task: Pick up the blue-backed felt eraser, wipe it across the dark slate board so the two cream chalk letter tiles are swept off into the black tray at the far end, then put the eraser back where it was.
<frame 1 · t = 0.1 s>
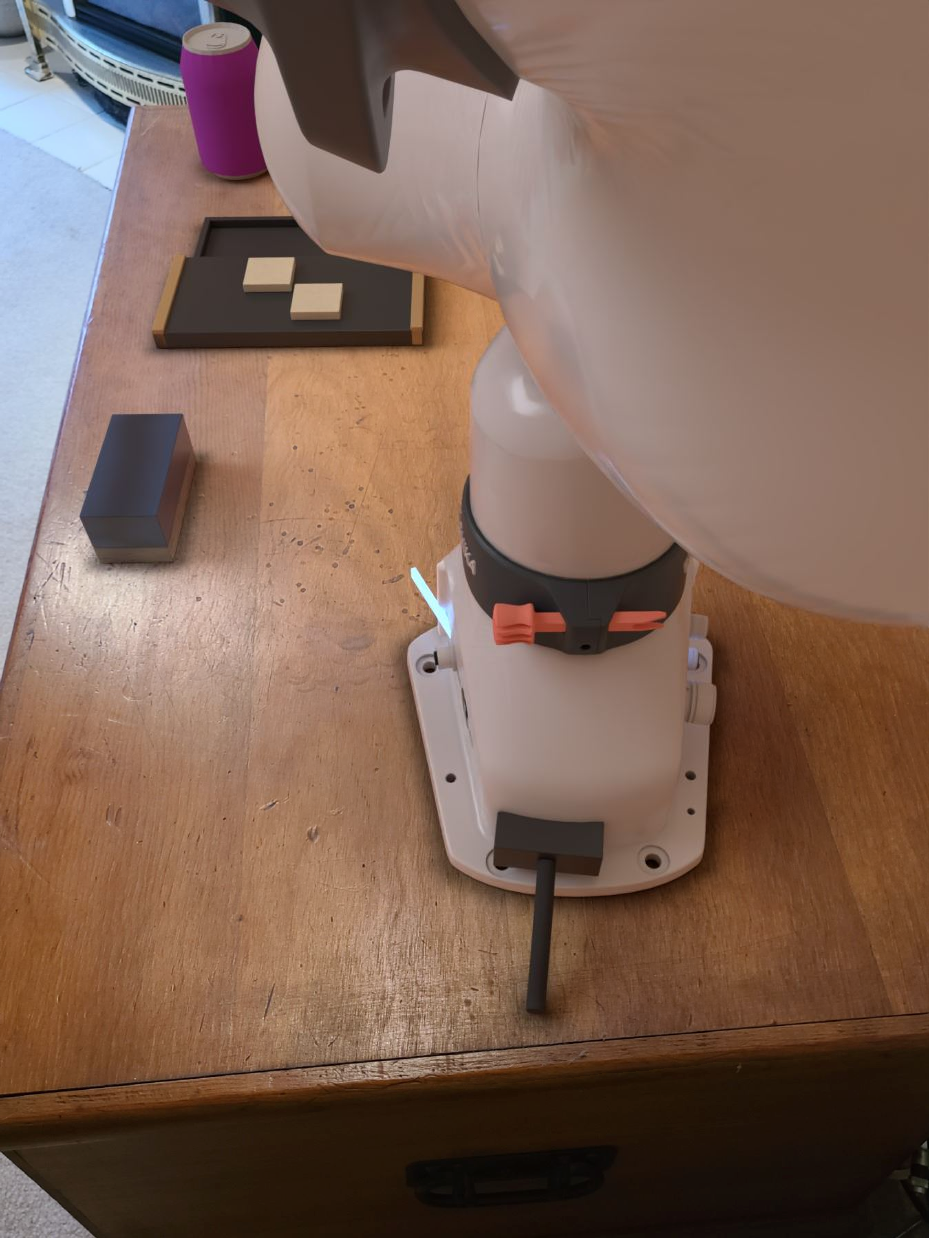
chalk tile a: (317, 305, 82), point 1 cm above the dresser, touching slate board
chalk tile b: (270, 278, 85), point 1 cm above the dresser, touching slate board
eraser: (150, 509, 70), on the dresser
slate board: (296, 307, 85), on the dresser
tray: (306, 247, 90), on the dresser
camera lens: (480, 228, 92), on the dresser
beverage can: (241, 166, 100), on the dresser
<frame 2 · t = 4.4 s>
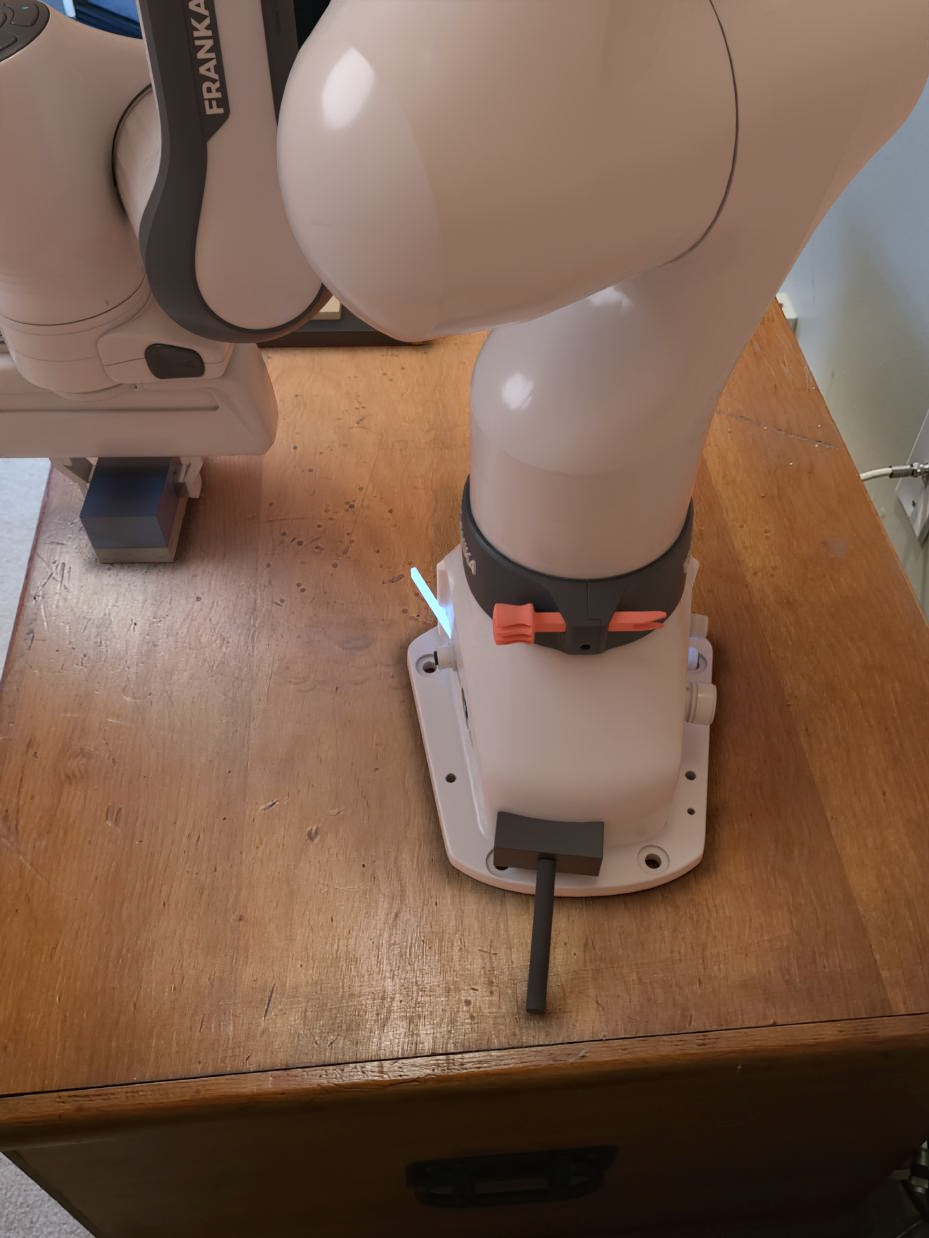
hand: (145, 492, 68), 2 cm above the dresser, tool pointing down, fingers closed on eraser, 5 cm apart
eraser: (150, 509, 70), on the dresser, touching gripper
everything else where it was.
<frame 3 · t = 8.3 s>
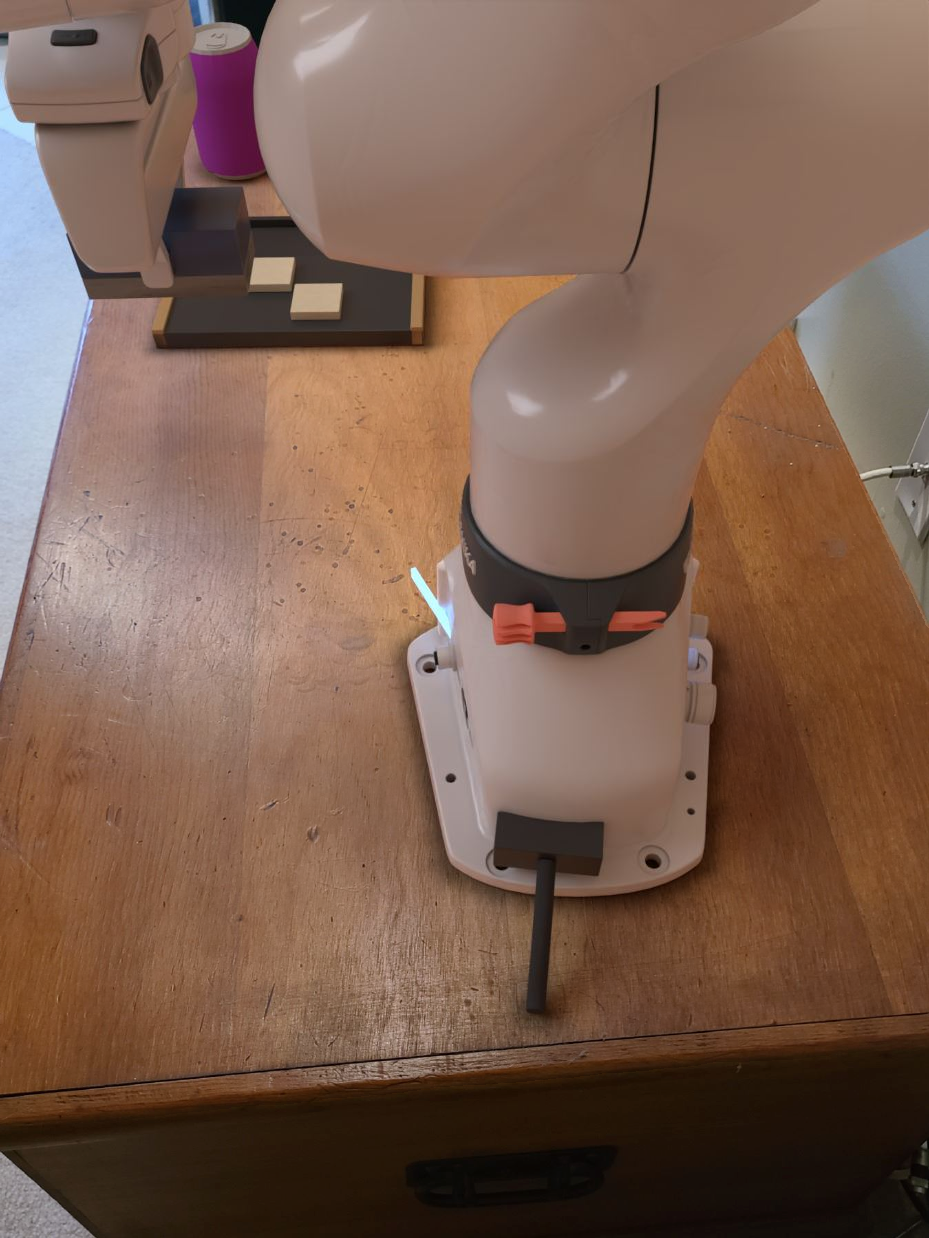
hand: (169, 252, 62), 15 cm above the dresser, tool pointing down, fingers closed on eraser, 5 cm apart
eraser: (174, 275, 64), point 14 cm above the dresser, touching gripper
everything else where it was.
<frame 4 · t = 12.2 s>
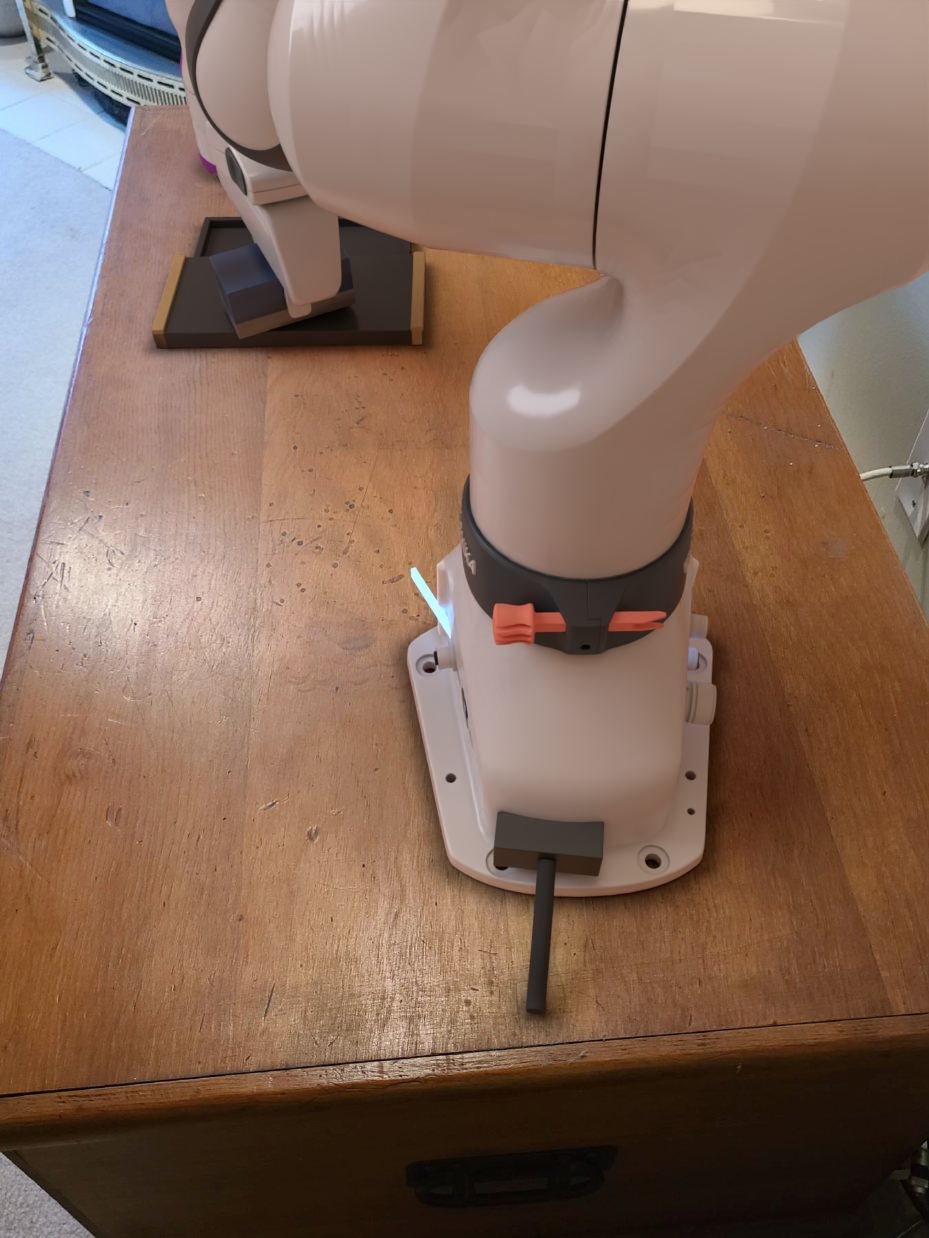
hand: (285, 290, 80), 3 cm above the dresser, tool pointing down, fingers closed on eraser, 5 cm apart
chalk tile a: (322, 280, 84), point 1 cm above the dresser, touching eraser, slate board
eraser: (288, 303, 81), point 2 cm above the dresser, tilted 5°, touching chalk tile a, gripper
everything else where it was.
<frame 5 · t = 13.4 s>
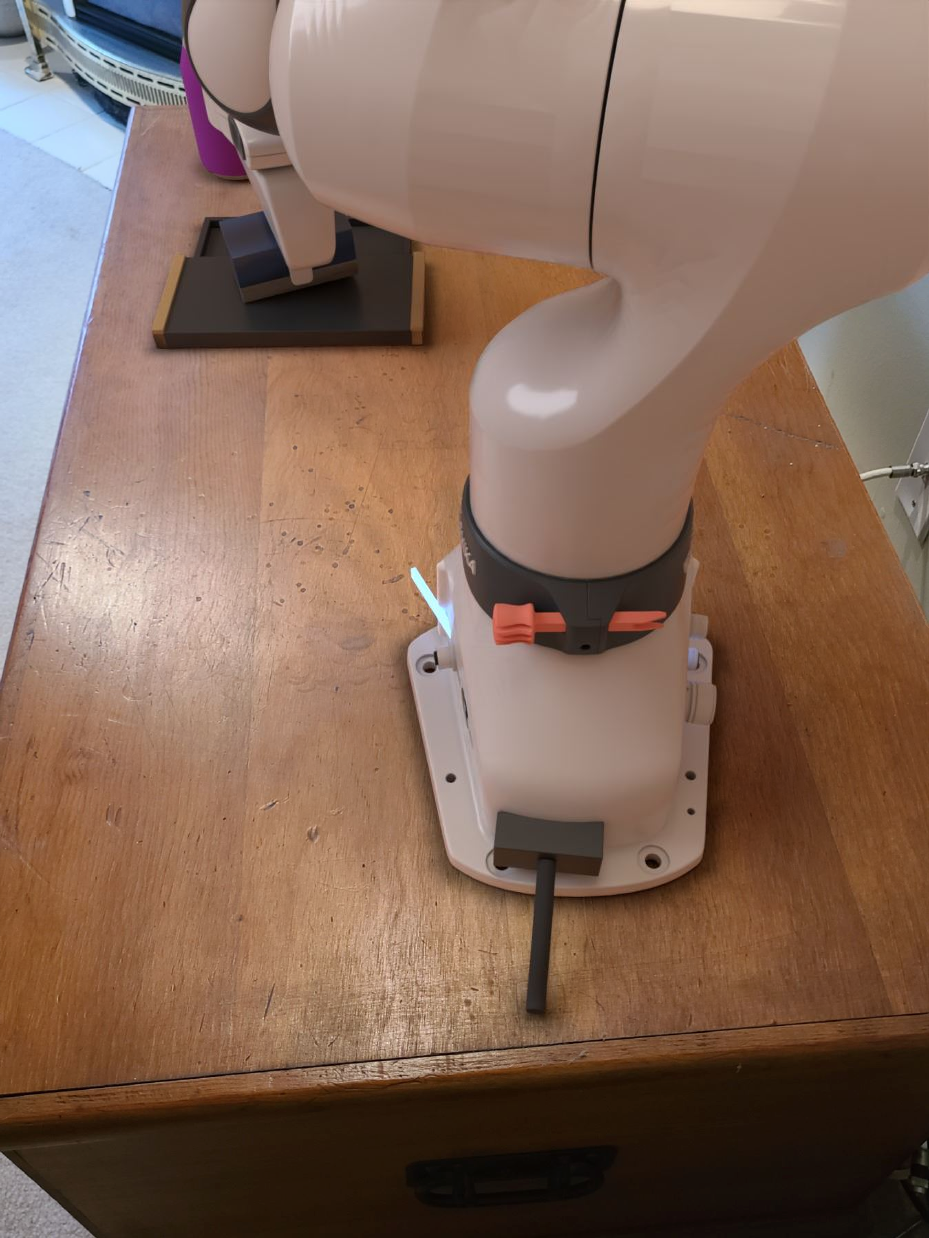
hand: (291, 259, 83), 3 cm above the dresser, tool pointing down, fingers closed on eraser, 5 cm apart
chalk tile a: (327, 258, 86), point 1 cm above the dresser, touching eraser, slate board
chalk tile b: (272, 253, 87), point 1 cm above the dresser, touching eraser, slate board
eraser: (294, 270, 84), point 2 cm above the dresser, tilted 7°, touching chalk tile a, chalk tile b, gripper
everything else where it was.
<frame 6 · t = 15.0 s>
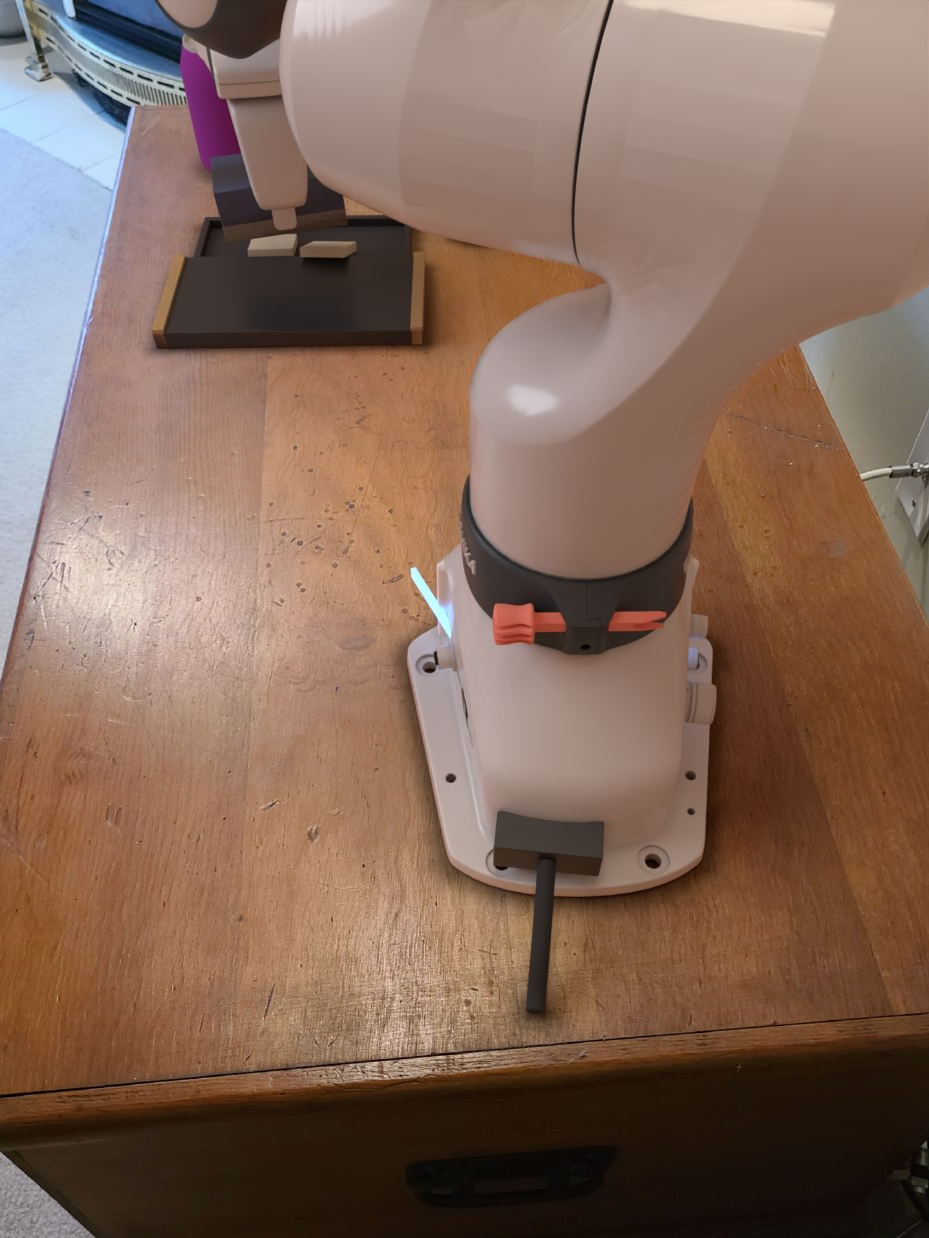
hand: (282, 205, 81), 7 cm above the dresser, tool pointing down, fingers closed on eraser, 5 cm apart
chalk tile a: (328, 254, 87), point 1 cm above the dresser, tilted 23°, touching slate board, tray
chalk tile b: (273, 250, 89), point 1 cm above the dresser, tilted 13°, touching tray
eraser: (285, 216, 82), point 6 cm above the dresser, touching gripper
everything else where it was.
when the fingers open (1 cm above the dresser, at t = 22.1 s): eraser stays where it is, on the dresser.
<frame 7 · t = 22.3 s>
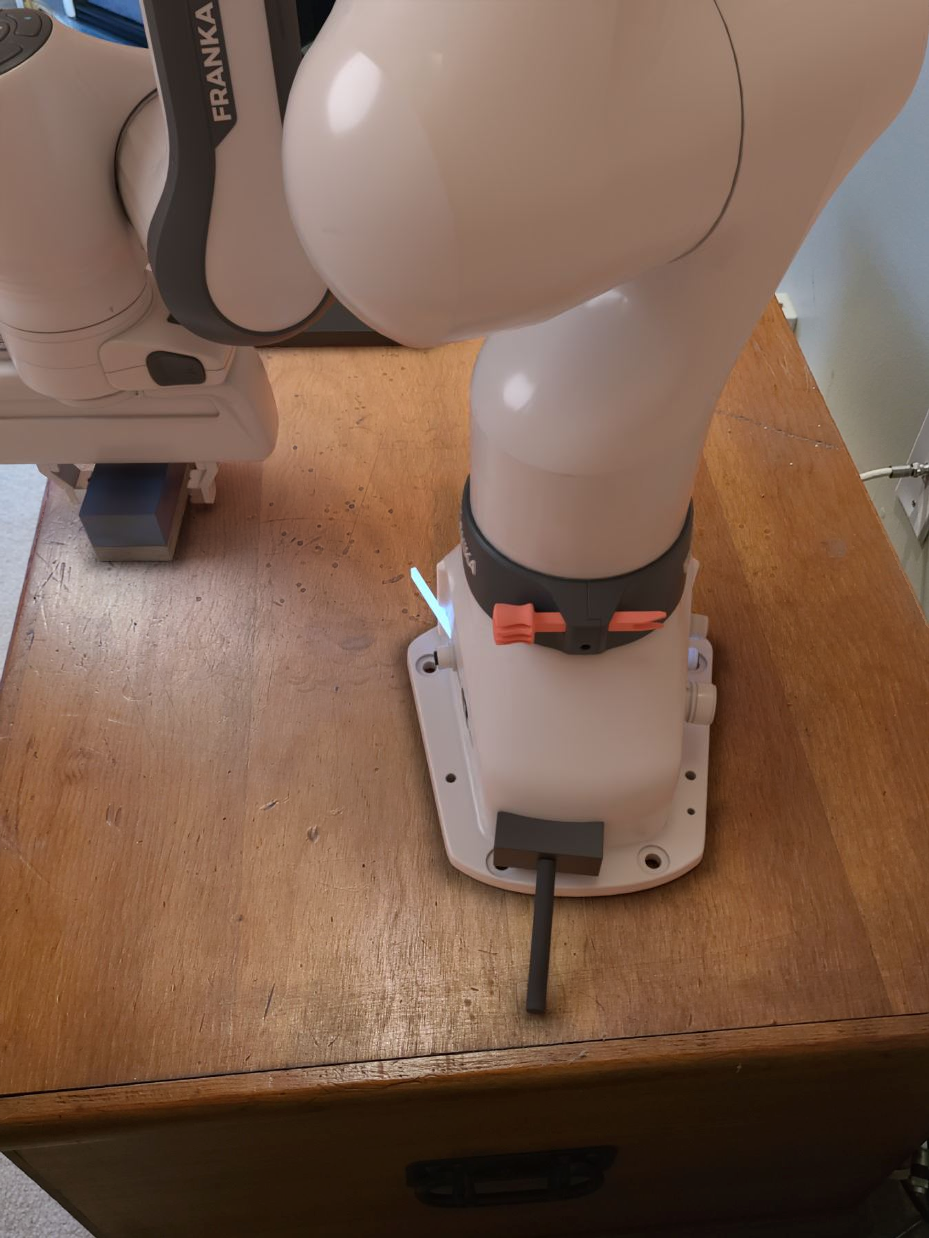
hand: (145, 497, 69), 1 cm above the dresser, tool pointing down, fingers open, 7 cm apart
eraser: (150, 508, 70), on the dresser
everything else where it was.
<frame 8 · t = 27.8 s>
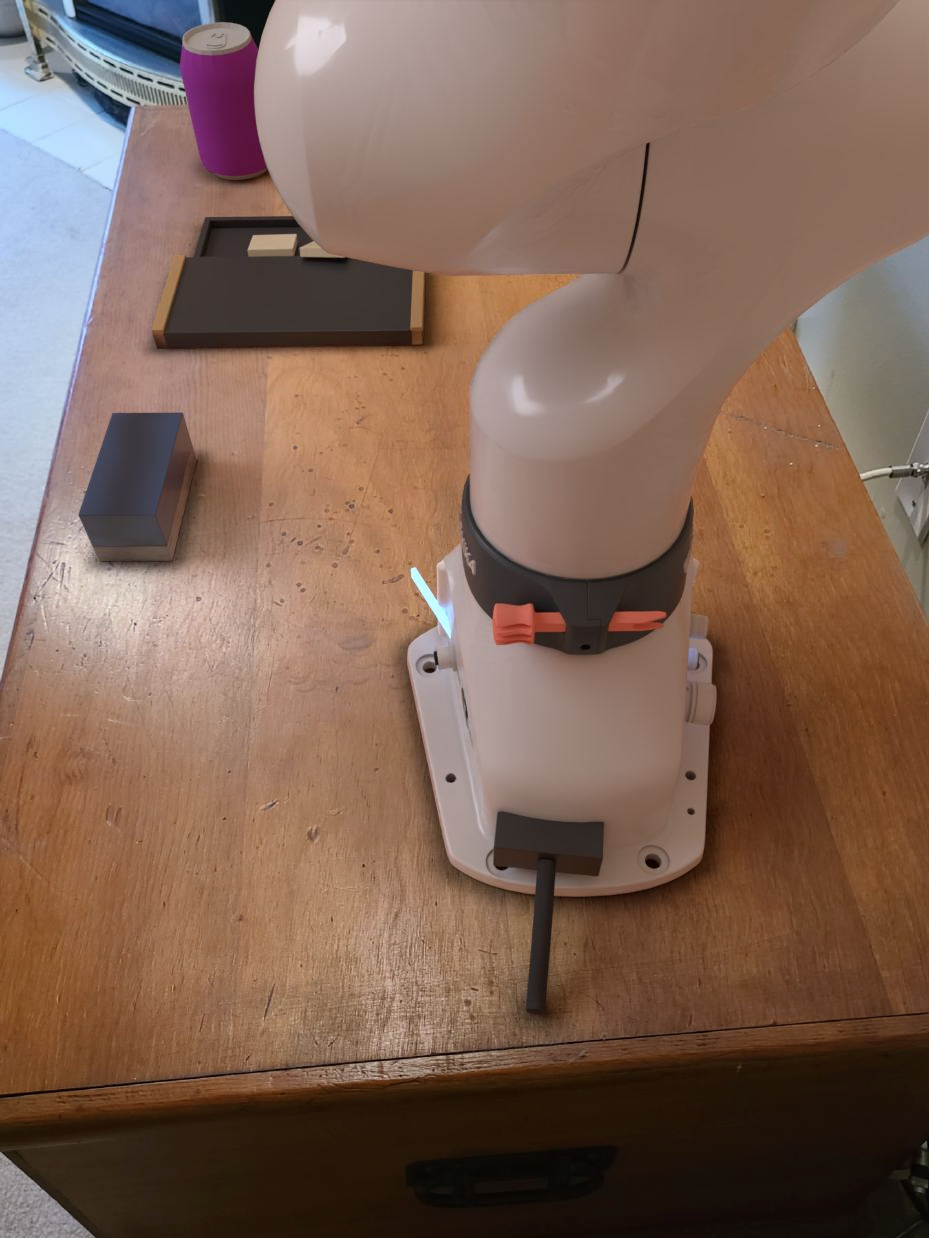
nothing on the dresser moved.
at the end: chalk tile a inside the target area in the tray (4.0 cm from its centre), point 1.2 cm above the tray's base; chalk tile b inside the target area in the tray (3.2 cm from its centre), point 0.8 cm above the tray's base; the gripper is holding nothing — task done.
